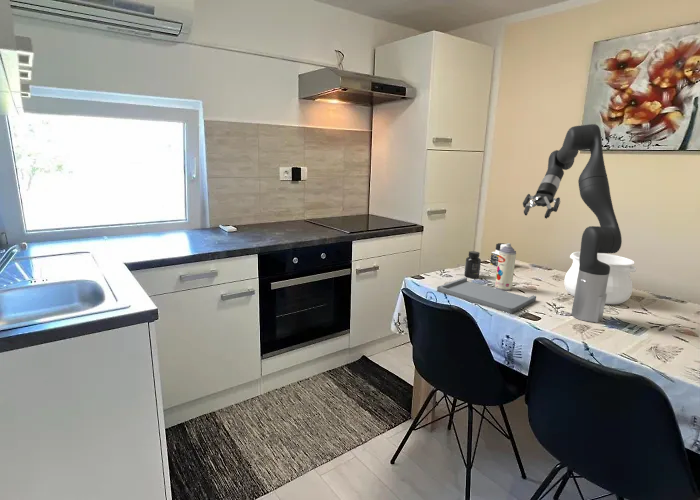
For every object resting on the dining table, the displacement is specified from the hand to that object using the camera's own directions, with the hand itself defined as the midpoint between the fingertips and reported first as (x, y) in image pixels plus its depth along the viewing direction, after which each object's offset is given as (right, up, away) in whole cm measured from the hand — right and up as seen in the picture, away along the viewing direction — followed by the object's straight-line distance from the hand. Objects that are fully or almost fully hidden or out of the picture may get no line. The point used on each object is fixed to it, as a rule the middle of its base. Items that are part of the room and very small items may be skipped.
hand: (535, 215), depth 174 cm
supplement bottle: (-22, -28, +17) cm, 40 cm away
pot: (+23, -35, -4) cm, 42 cm away
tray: (-25, -34, -10) cm, 43 cm away
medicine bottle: (-1, -23, +39) cm, 46 cm away
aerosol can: (-14, -32, +1) cm, 35 cm away
